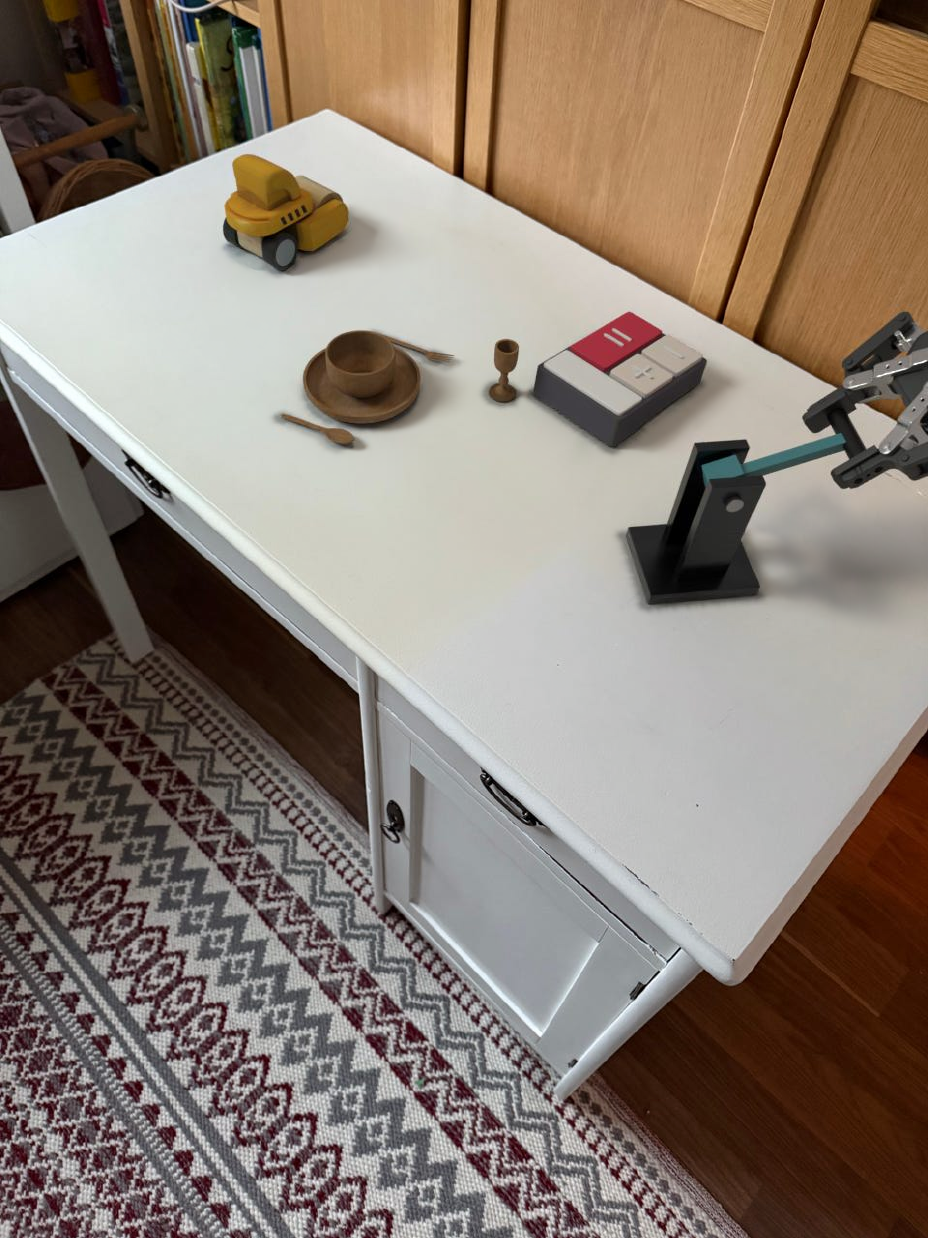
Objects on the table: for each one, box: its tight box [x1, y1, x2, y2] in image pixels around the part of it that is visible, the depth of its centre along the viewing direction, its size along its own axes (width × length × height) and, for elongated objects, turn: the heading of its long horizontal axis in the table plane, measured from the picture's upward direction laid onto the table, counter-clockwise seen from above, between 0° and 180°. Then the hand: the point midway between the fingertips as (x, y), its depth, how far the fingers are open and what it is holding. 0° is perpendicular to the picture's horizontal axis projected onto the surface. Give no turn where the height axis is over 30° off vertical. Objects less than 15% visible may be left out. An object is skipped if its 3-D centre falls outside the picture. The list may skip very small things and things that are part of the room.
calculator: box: [532, 311, 708, 448], centre depth 94 cm, size 11×4×15 cm
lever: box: [702, 409, 867, 487], centre depth 72 cm, size 12×6×2 cm, turn 97°
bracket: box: [625, 438, 767, 605], centre depth 77 cm, size 10×8×13 cm
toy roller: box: [222, 153, 350, 271], centre depth 104 cm, size 9×14×10 cm, turn 142°
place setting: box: [280, 329, 520, 445], centre depth 90 cm, size 18×20×6 cm
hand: (821, 452), depth 72 cm, fingers closed on lever, 5 cm apart
